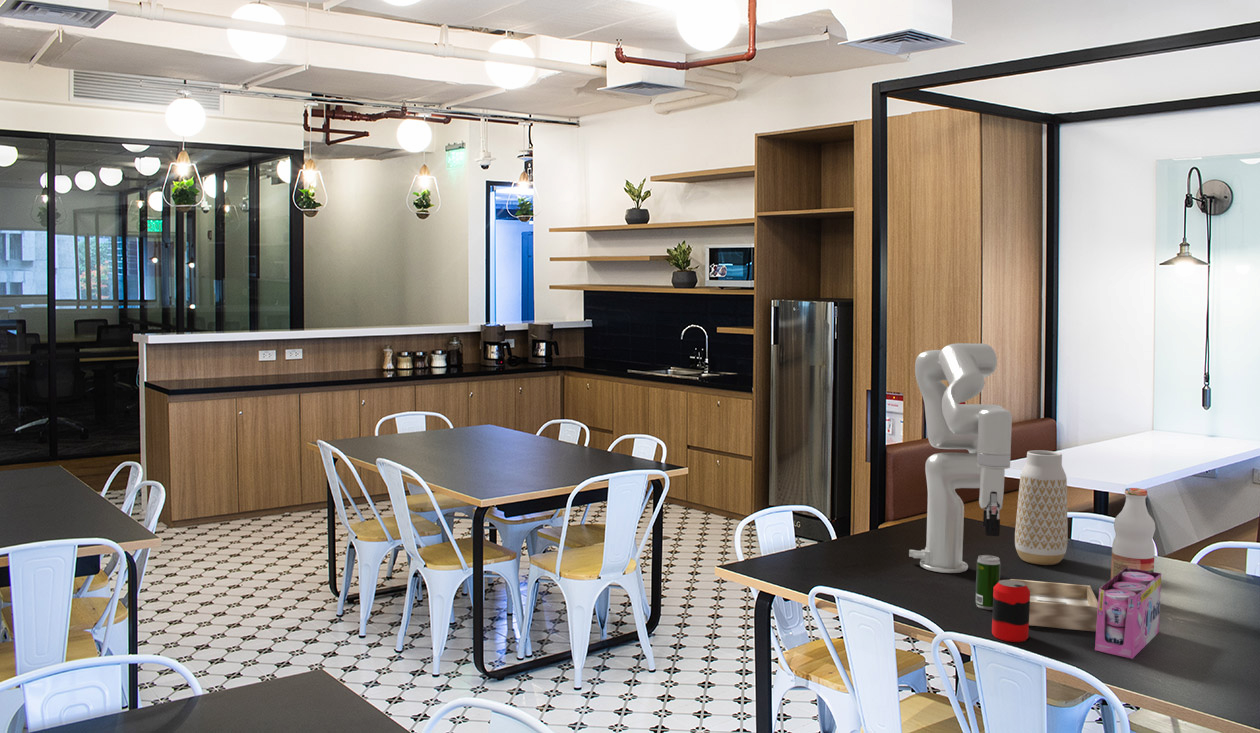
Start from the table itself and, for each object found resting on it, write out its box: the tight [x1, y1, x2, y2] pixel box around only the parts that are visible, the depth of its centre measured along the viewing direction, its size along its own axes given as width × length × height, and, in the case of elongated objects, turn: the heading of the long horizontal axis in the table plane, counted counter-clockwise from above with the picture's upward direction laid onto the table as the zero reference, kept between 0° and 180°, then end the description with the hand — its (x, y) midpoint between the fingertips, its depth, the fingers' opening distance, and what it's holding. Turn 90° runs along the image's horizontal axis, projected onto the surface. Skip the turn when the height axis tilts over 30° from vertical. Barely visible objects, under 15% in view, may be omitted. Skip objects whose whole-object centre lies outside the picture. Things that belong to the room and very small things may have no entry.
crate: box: [1009, 578, 1098, 633], centre depth 245 cm, size 18×18×6 cm
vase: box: [1014, 449, 1069, 566], centre depth 292 cm, size 14×14×31 cm
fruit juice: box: [1110, 487, 1156, 580], centre depth 255 cm, size 9×9×28 cm
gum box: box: [1094, 568, 1162, 660], centre depth 227 cm, size 24×8×14 cm, turn 141°
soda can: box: [991, 579, 1030, 643], centre depth 230 cm, size 8×8×12 cm
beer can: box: [974, 554, 1001, 611], centre depth 251 cm, size 5×5×12 cm
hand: (991, 531), depth 250 cm, fingers open, 9 cm apart
